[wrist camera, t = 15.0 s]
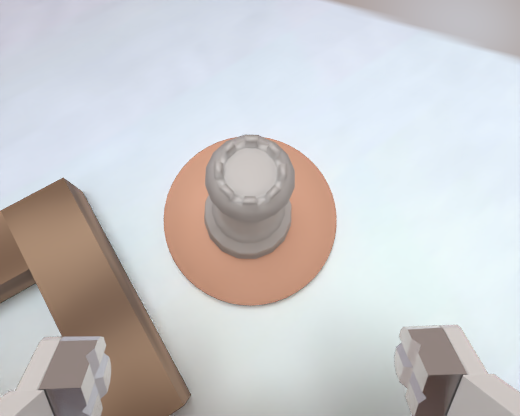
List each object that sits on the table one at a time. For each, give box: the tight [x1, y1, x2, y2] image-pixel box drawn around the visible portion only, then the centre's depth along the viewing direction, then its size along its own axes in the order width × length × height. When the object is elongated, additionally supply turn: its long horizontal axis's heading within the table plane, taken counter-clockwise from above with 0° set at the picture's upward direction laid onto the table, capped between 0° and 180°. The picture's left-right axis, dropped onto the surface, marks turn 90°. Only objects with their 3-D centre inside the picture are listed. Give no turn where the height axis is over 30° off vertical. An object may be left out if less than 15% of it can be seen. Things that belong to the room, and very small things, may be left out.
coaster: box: [164, 137, 336, 305], centre depth 23 cm, size 9×9×1 cm
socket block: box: [0, 178, 191, 416], centre depth 20 cm, size 12×12×2 cm
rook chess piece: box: [204, 135, 295, 259], centre depth 18 cm, size 4×4×8 cm
